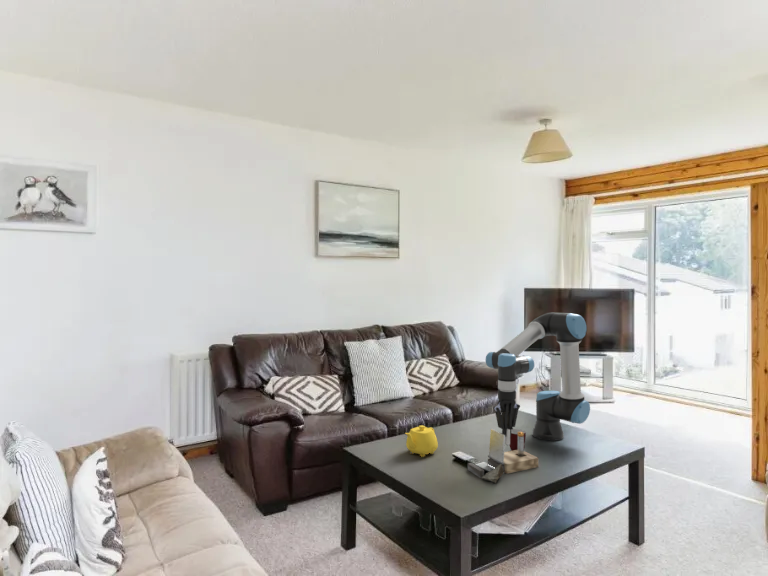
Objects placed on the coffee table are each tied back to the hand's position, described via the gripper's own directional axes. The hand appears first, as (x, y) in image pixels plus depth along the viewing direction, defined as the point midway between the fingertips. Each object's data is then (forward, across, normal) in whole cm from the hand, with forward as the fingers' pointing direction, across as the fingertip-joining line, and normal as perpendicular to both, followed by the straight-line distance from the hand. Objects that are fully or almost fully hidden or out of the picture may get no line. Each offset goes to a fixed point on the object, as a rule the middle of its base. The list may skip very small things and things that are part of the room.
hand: (506, 443), depth 217 cm
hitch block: (+10, +2, 0) cm, 11 cm away
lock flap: (+6, +6, 0) cm, 8 cm away
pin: (+10, -8, 0) cm, 13 cm away
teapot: (+11, +26, -31) cm, 42 cm away
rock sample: (+11, +14, +9) cm, 20 cm away
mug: (+10, -15, -11) cm, 21 cm away
